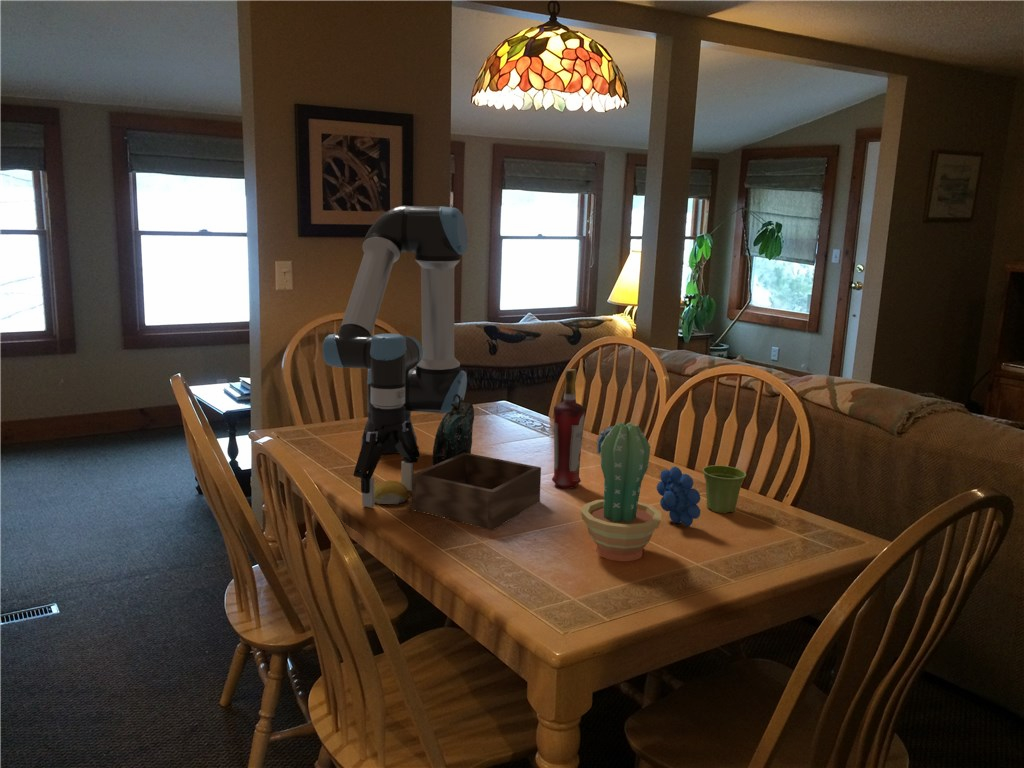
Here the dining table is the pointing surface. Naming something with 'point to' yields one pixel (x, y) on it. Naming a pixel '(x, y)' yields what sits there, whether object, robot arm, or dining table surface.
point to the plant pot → (722, 487)
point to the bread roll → (390, 492)
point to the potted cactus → (621, 496)
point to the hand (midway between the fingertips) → (388, 498)
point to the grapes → (678, 496)
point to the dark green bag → (454, 432)
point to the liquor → (568, 435)
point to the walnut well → (476, 489)
